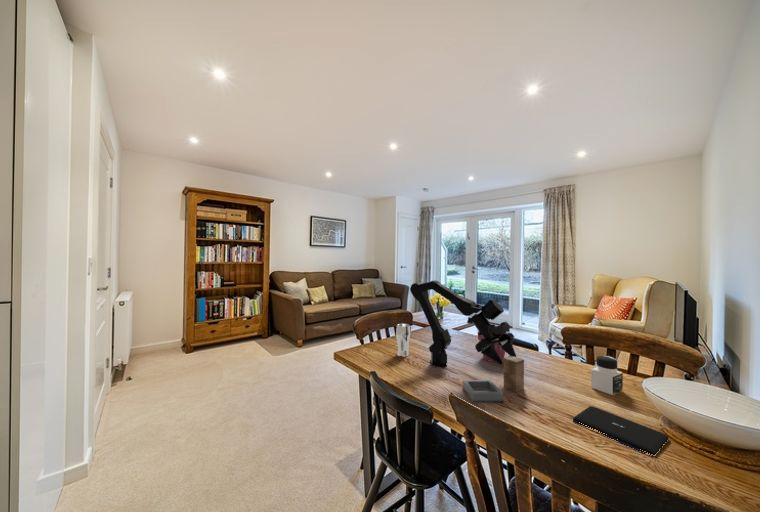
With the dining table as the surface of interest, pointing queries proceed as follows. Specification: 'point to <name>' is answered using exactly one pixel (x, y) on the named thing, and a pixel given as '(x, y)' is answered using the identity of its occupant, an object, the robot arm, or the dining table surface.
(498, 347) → the plant pot
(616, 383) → the medicine bottle
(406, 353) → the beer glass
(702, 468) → the dining table surface
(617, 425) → the laptop
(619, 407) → the dining table surface
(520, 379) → the walnut block
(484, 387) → the holder box
